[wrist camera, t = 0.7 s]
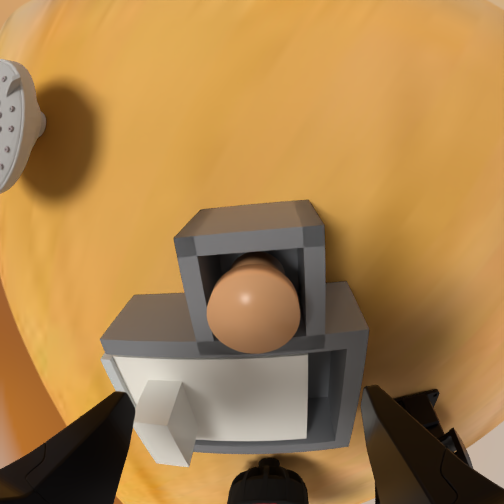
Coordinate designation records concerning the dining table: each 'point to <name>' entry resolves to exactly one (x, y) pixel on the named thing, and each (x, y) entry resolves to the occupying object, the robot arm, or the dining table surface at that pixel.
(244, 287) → the tan rounded piece
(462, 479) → the robot arm
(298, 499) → the black tall rounded body
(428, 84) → the dining table surface
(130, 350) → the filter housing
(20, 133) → the showerhead
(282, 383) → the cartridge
